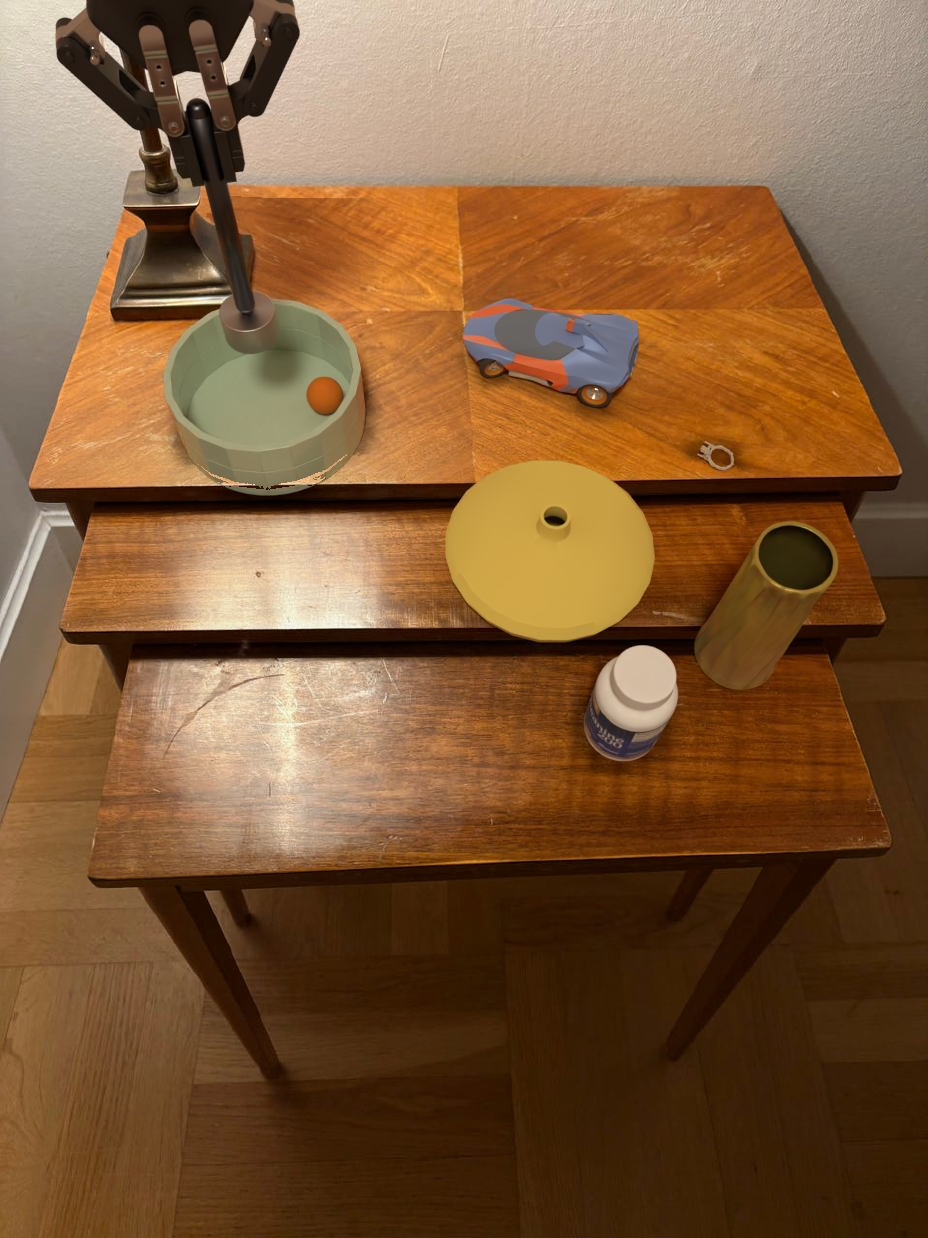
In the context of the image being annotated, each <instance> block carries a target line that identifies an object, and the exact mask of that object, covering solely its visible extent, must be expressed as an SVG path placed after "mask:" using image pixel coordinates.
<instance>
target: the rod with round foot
mask: <svg viewBox="0 0 928 1238" xmlns="http://www.w3.org/2000/svg"><path fill="white" fill-rule="evenodd" d="M185 111H186V114H187V118H188V122H189V125H190V128H191V132H192V136H193V140H194V144H195V148H196V152H197V155H198V159H199V163H200V167H201V171H202V175H203V179H204V188H205V192H206V196H207V200H208V203H209V208H210V211H211V216H212V219H213V223H214V227H215V231H216V235H217V238H218V239H217V240H218V243H219V247H220V251H221V254H222V258H223V262H224V266H225V270H226V274H227V278H228V282H229V286H230V289H231V293H232V294H230V295H228V296H227V297H226V298H225V299H224V300H223V302H222V303H221V305H220V307H219V309H220V310H219V316H220V320H221V324H222V327H223V331H224V335H225V338H226V341H227V343H228V345H229V346H230V347H231V348H233V349H234V350H235V351H237V352H240V353H244V354H257V353H261V352H264V351H266V350H268V349H270V348H271V347H272V346H273V345H274V344H275V343H276V342H277V340H278V337H279V333H280V331H279V325H278V320H277V315H276V311H275V306H274V303H273V302H272V300H271V299H272V298H270V297H269V296H268V295H267V294H265V293H263V292H261V291H258V290H253V286H252V282H251V278H250V273H249V270H248V266H247V261H246V257H245V254H244V253H245V252H244V248H243V244H242V240H241V235H240V230H239V226H238V223H237V222H238V221H237V218H236V214H235V209H234V205H233V201H232V196H231V191H230V188H229V183H226V182H225V178H224V174H223V170H222V165H221V161H220V157H219V153H218V148H217V144H216V140H215V135H214V130H213V118H212V114H211V107H210V104H209V102H207V101H206V100H204V99H203V98H200V97H193V98H191V99H190V100H189V101H188V102H187V103H186V106H185Z"/></svg>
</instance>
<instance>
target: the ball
mask: <svg viewBox="0 0 928 1238" xmlns="http://www.w3.org/2000/svg"><path fill="white" fill-rule="evenodd" d="M306 396H307V401H308V403H309V405H310V407H311V408H312V409H313V410H315V411H316V412H318V413H321V414H330V413H333V412H334V411H336V410H337V409H338V408H339V406H340V405H341V403H342V401H343V391H342V388H341V386H340V385H339V383H338V382H337V381H336V380H334V379H332V378H330V377H319V378H316V379H314V380H313V381H312V382H311V383H310V384H309V386H308V388H307V393H306Z"/></svg>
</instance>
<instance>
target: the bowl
mask: <svg viewBox="0 0 928 1238" xmlns="http://www.w3.org/2000/svg"><path fill="white" fill-rule="evenodd" d="M270 299H271V300H272V302H273V303H274V306H275V311H276V315H277V320H278V325H279V331H280V333H279V337H278V340H277V342H276V343H275V344H274V345H273V346H272V347H271V348H270V349H268V350H266V351H264V352H261V353H257V354H244V353H240V352H237V351H235V350H234V349H233V348H231V347H230V346H229V345H228V343H227V341H226V338H225V335H224V331H223V327H222V324H221V320H220V316H219V310H220V308H217V309H216V310H212V311H210V312H209V313H207V314H206V315H204V316H203V317H202V318H200V319H199V320H197V321H196V322H194V323H193V324H191V325H190V326H188V327H187V328H186V329H185V330H184V331H183V333H182V334H181V336H179V338H178V339H177V341H176V342H175V343H174V345H173V346H172V347H171V348H170V351H169V353H168V356H167V360H166V362H165V366H164V369H163V371H162V380H163V391H164V399H165V402H166V404H167V407H168V410H169V412H170V415H171V418H172V420H173V422H174V426H175V427H176V430H177V432H178V435H179V438H180V440H181V442H182V444H183V446H184V448H185V450H186V452H187V455H188V456H189V458H190V460H191V461H192V462H193V464H194V465H195V466H196V467H197V469H198V470H199V471H200V472H201V473H202V474H204V476H206V477H207V478H209V479H210V480H212V481H213V482H215V483H216V484H218V483H217V482H220V483H223V482H226V481H223V480H221V479H218V478H216V477H213V476H211V475H210V474H209V473H208V472H210V473H211V474H214V475H217V476H219V477H223V478H226V479H229V480H231V481H234V482H239V483H245V484H247V483H248V484H252V485H253V484H255V485H259V487H260V488H261V486H263V488H264V489H256V488H247V487H239V486H235V485H234V486H231V487H229V486H225V487H224V488H226V489H229V490H231V491H235V492H239V493H242V494H247V495H252V496H253V495H254V496H279V495H281V496H282V495H288V494H292V493H297V492H300V491H303V490H306V489H309V488H311V487H313V486H315V485H312V486H308V485H309V484H307V485H295V486H289V487H282V488H276V489H270V488H271V486H274V485H279V484H281V483H287V482H292V481H297V480H300V479H303V478H306V477H308V476H311V475H313V474H315V473H318V472H322V471H323V470H326V469H328V468H329V467H330V466H332V465H333V464H334V463H335V462H337V461H338V460H339V459H341V458H342V457H343V456H345V455H346V454H347V456H345V457H344V458H343V459H342V460H341V461H339V462H338V463H337V464H336V465H335V466H333V467H332V468H331V469H330V470H329V471H327V472H325V473H324V474H322V475H320V476H321V478H320V479H323V478H324V477H325V478H326V479H325V480H327V479H329V478H330V477H331V476H333V475H334V474H335V473H337V472H338V471H339V470H340V469H341V468H343V466H345V464H347V462H348V461H349V460H350V459H351V458H352V456H353V454H354V453H355V452H356V450H357V448H358V446H359V444H360V443H361V440H362V437H363V434H364V429H365V426H366V411H367V410H366V404H365V393H364V385H363V384H364V383H363V376H362V367H361V362H360V358H359V353H358V348H357V345H356V344H355V342H354V341H353V339H352V338H351V336H350V335H349V333H348V332H347V330H346V328H345V327H344V326H343V324H341V323H340V322H338V321H337V320H335V318H333V317H331V316H330V315H328V313H326V312H325V311H323V310H321V309H319V308H316V307H314V306H310V305H308V304H305V303H302V302H299V301H298V300H290V299H281V298H280V299H278V298H270ZM319 377H330V378H332V379H334V380H336V381H337V382H338V383H339V385H340V386H341V388H342V391H343V401H342V403H341V405H340V406H339V408H338V409H337V410H336V411H334V412H333V413H330V414H321V413H318V412H316V411H315V410H313V409H312V408H311V407H310V405H309V403H308V401H307V396H306V393H307V388H308V386H309V384H310V383H311V382H312V381H313V380H314V379H316V378H319ZM192 459H193V460H192ZM197 463H198V464H199V465H198V464H197ZM201 466H202V467H203V468H204V469H205V470H207V471H208V472H207V471H205V470H204V469H203V468H202V467H201ZM320 476H318V477H315V478H319V477H320ZM329 476H330V477H329ZM313 479H314V478H313ZM314 480H317V479H314ZM226 483H228V482H226ZM267 487H268V488H269V489H270V490H269V489H268V490H266V488H267Z"/></svg>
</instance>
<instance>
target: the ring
mask: <svg viewBox="0 0 928 1238" xmlns="http://www.w3.org/2000/svg"><path fill="white" fill-rule="evenodd" d="M704 443H705V444H707V445H708V446H706V445H703V444H702V445H701V446H700V448H699V451H700V452H701V453H702V454H700V453H697V457H700V458H702V459H704V460H705V461H707V462H708V463H709V465H710V466H711V467H712V468H715V469H717V470H718V471H723V472H725V471H727V470H729V469H731V468H732V467H733V466H734V465H735V464H734V461H735V458H734V452H732V451H731V450H730V449H728V448H726V447H725V446H724V445H721V444H720V445H715V444H714V443H710V442H708V441H707V440H705V441H704ZM715 450H722V451H724V452H725V453H727V454H728V455H729V457H730V464H728V465H726V466H720V465H717V464H716V463H715V461H713V460H712V456H711V455H712V453H713V451H715Z"/></svg>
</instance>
